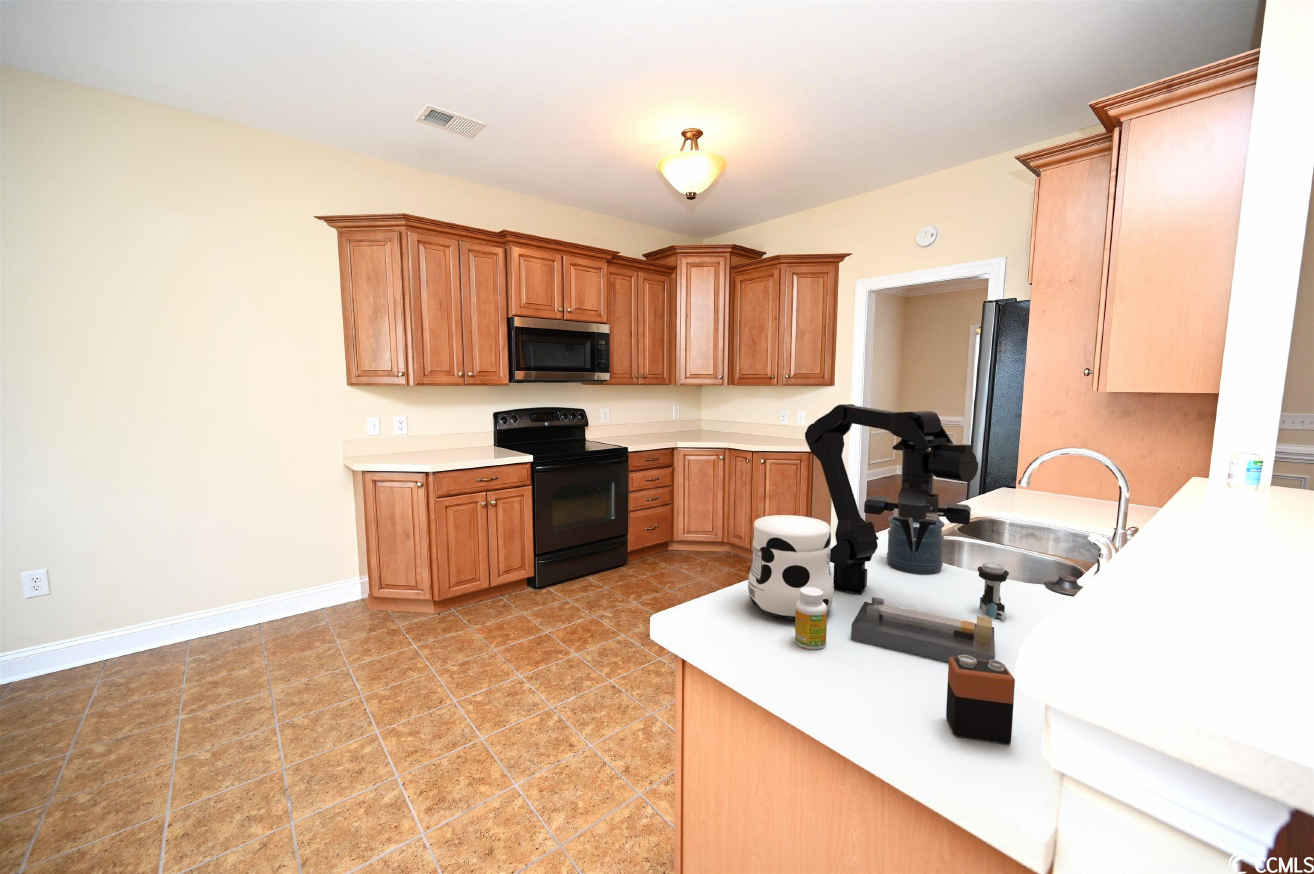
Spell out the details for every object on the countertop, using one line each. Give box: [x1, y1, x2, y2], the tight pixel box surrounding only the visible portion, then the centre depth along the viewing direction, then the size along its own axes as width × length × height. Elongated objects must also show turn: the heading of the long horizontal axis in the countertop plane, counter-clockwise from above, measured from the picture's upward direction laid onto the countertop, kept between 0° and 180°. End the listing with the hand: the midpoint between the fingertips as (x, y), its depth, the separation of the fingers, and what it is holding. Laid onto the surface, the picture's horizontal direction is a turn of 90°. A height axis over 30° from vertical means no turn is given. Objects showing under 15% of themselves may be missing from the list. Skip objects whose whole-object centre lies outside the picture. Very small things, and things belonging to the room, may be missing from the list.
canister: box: [886, 511, 946, 575], centre depth 136 cm, size 13×13×18 cm
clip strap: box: [873, 602, 975, 634], centre depth 96 cm, size 17×3×1 cm, turn 58°
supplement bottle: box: [794, 587, 828, 651], centre depth 95 cm, size 5×5×10 cm
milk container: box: [747, 514, 835, 620], centre depth 110 cm, size 17×17×18 cm
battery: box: [945, 655, 1016, 745], centre depth 71 cm, size 4×7×10 cm, turn 75°
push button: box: [977, 562, 1010, 620], centre depth 107 cm, size 7×5×10 cm
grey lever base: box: [850, 596, 996, 664], centre depth 96 cm, size 22×12×6 cm, turn 58°
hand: (914, 551), depth 107 cm, fingers closed
